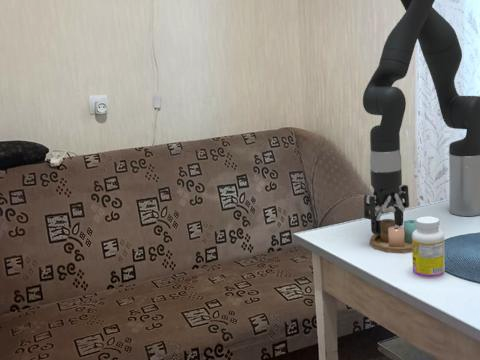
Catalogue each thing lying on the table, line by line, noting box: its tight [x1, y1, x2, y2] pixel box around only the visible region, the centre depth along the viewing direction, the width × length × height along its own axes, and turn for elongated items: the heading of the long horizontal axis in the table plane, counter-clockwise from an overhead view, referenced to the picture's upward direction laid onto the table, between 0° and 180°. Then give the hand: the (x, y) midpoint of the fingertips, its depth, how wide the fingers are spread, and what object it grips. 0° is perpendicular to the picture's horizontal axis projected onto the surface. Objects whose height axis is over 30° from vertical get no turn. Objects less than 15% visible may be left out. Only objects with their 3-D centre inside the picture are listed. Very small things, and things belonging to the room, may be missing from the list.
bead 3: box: [403, 219, 418, 244], centre depth 146 cm, size 4×4×5 cm
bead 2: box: [388, 225, 405, 248], centre depth 143 cm, size 4×4×5 cm
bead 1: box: [380, 218, 396, 243], centre depth 149 cm, size 4×4×5 cm
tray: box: [369, 234, 412, 254], centre depth 146 cm, size 14×14×2 cm
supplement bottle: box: [412, 216, 446, 279], centre depth 126 cm, size 7×7×13 cm
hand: (387, 229), depth 148 cm, fingers open, 8 cm apart
